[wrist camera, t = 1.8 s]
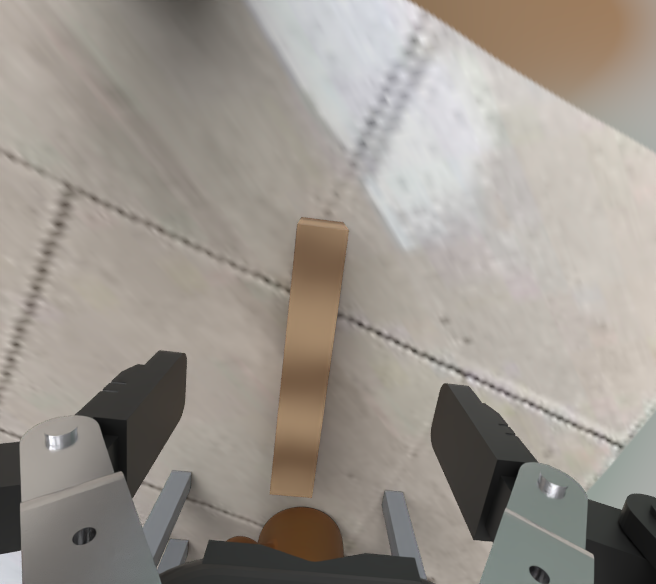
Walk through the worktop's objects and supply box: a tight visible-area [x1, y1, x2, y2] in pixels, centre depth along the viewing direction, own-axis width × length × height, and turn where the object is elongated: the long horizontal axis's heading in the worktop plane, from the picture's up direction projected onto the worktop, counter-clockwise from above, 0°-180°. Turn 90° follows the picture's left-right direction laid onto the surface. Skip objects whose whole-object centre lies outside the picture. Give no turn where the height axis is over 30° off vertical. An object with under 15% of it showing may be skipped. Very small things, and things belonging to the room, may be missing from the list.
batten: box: [270, 217, 349, 498], centre depth 27 cm, size 19×3×6 cm, turn 173°
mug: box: [227, 507, 344, 562], centre depth 29 cm, size 12×8×9 cm, turn 41°
